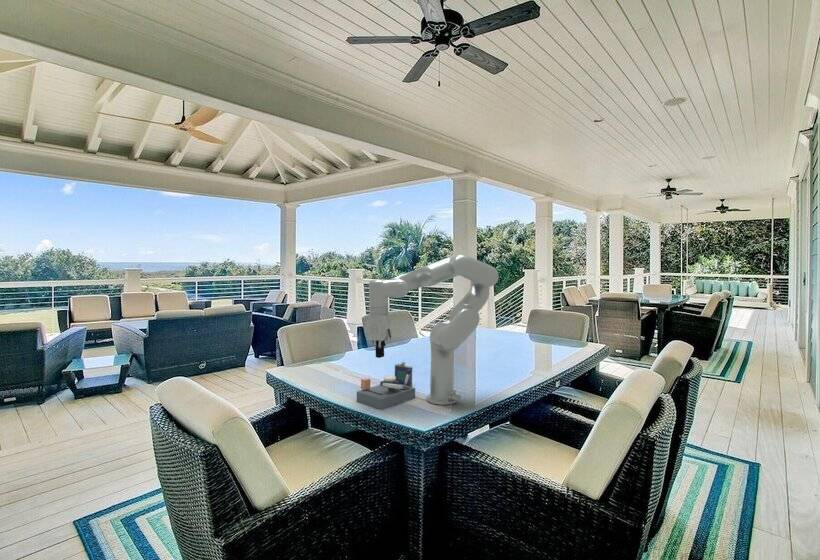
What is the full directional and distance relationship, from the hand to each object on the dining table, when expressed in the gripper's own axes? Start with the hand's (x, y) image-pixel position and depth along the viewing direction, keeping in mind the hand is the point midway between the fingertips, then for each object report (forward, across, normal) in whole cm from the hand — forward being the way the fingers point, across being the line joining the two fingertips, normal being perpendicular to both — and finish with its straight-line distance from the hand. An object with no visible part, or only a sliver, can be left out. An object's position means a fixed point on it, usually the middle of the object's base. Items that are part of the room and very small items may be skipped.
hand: (380, 356), depth 166 cm
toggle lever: (+14, +3, +11) cm, 18 cm away
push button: (+14, -5, +11) cm, 19 cm away
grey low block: (+19, -2, +5) cm, 19 cm away
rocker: (+12, +2, +5) cm, 14 cm away
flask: (+19, -11, +25) cm, 33 cm away
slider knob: (+14, -8, -1) cm, 16 cm away
